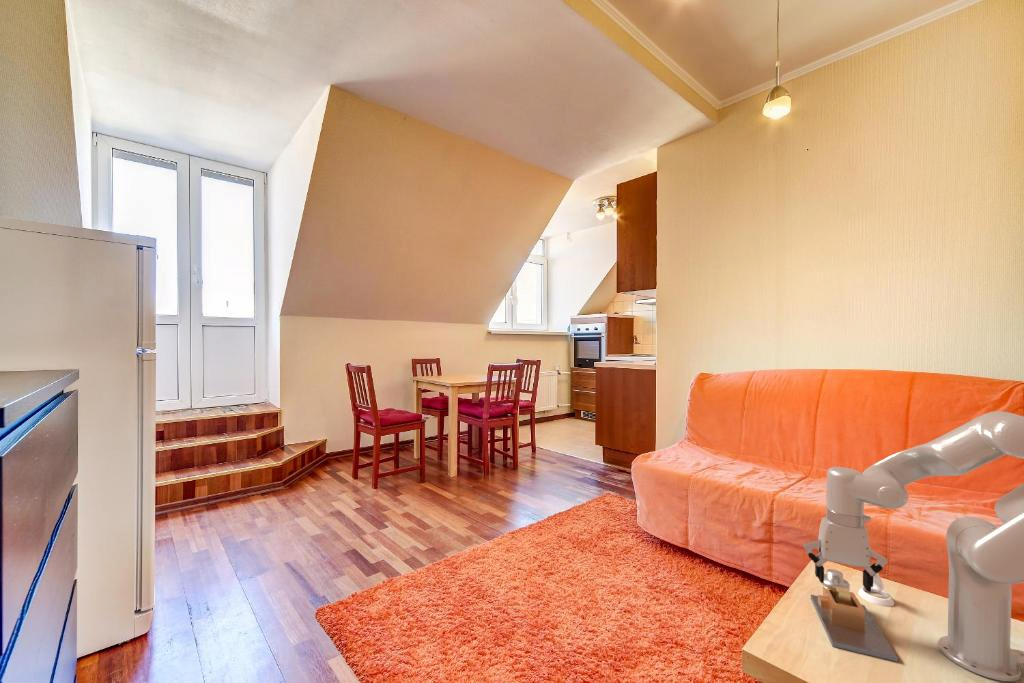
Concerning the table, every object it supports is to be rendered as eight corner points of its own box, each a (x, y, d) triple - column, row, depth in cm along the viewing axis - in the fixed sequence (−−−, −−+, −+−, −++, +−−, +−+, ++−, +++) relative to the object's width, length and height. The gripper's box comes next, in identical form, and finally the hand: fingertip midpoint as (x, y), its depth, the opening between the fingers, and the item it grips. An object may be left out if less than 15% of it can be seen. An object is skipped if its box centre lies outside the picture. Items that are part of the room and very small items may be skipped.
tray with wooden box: (861, 606, 116) (862, 572, 116) (897, 662, 96) (898, 621, 96) (809, 595, 120) (809, 563, 120) (832, 646, 100) (833, 607, 100)
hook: (847, 583, 118) (848, 560, 122) (861, 610, 121) (862, 587, 125) (882, 589, 112) (882, 565, 117) (896, 617, 115) (895, 593, 120)
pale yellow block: (846, 614, 110) (847, 587, 110) (850, 623, 107) (851, 596, 107) (835, 611, 111) (835, 585, 111) (838, 620, 108) (839, 593, 108)
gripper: (881, 517, 109) (879, 584, 109) (800, 506, 116) (799, 569, 116) (893, 529, 102) (892, 601, 102) (807, 517, 109) (806, 584, 109)
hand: (843, 584), depth 109 cm, fingers open, 9 cm apart
